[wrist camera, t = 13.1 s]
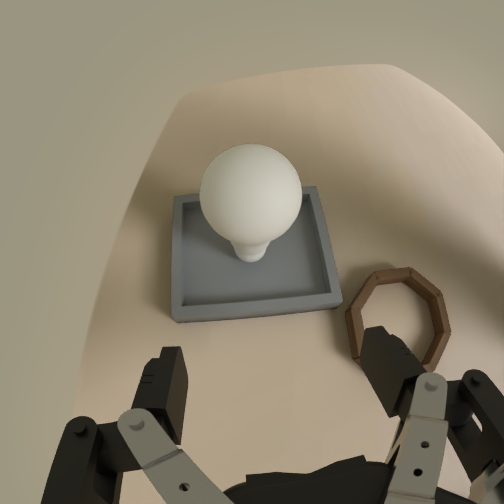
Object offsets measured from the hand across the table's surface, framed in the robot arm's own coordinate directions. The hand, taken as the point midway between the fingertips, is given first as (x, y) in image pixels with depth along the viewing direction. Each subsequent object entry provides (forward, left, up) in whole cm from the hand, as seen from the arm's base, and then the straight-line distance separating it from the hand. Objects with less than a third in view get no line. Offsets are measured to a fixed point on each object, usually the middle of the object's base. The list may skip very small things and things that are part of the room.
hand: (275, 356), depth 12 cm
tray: (0, -10, -10) cm, 14 cm away
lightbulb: (0, -9, -10) cm, 14 cm away
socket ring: (-12, -2, -10) cm, 16 cm away
